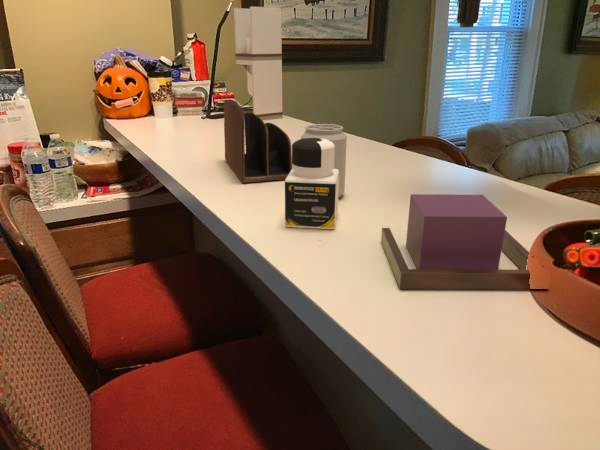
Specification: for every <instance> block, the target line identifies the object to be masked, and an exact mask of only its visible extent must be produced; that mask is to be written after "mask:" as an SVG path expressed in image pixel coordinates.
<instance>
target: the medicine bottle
mask: <svg viewBox="0 0 600 450" xmlns="http://www.w3.org/2000/svg"><path fill="white" fill-rule="evenodd" d="M291 154H292V170H291V171H290V173H289V175H288V176H287V178H286V179H285V180H284V225H285V227H286V228H297V229H298V228H299V229H303V228H304V229H319V230H334V229H335V228H336V223H337V218H338V213H339V198H338V191H339V170H338V169H334V155H335V145H334V144H333V142H331V141H329V140H327V139H322V138H304V139H301V138H300V139H297V140H295V141H294V142H293V143H291Z"/></svg>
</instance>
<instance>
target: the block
mask: <svg viewBox="0 0 600 450" xmlns="http://www.w3.org/2000/svg"><path fill="white" fill-rule="evenodd" d="M408 206H409V207H408V217H407V218H408V219H407V230H406V242H405V246H406V248H407V250H408V252H409V254H410V256H411V259H412V261H413V263H414V265H415V267H416V269H489V270H499V267H500V261H501V255H502V244H503V238H504V233H505V230H506V226H507V221H508V216H507V215H506V214H504V212H502V211H501V210H500V209H499V208H498V207H497V206H496V205H495V204H494V203H492V202H491V201H490V200H489V199H488V198H487V197H486V196H484V194H443V193H442V194H441V193H439V194H435V193H434V194H433V193H432V194H431V193H429V194H427V193H426V194H425V193H423V194H422V193H412V194H411V193H410V196H409V205H408Z"/></svg>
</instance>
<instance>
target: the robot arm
mask: <svg viewBox="0 0 600 450" xmlns="http://www.w3.org/2000/svg"><path fill="white" fill-rule="evenodd" d="M481 1H482V0H457V2H458V8H457V15H456V23H457V24H459V27H460V28H474V24H477V22H478V21H479V16H480V7H481Z"/></svg>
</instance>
